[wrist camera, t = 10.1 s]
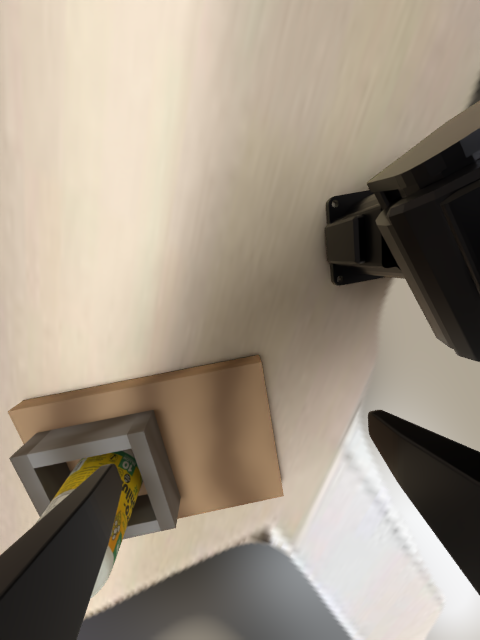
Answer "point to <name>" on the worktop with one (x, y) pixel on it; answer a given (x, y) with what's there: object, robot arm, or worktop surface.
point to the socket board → (159, 440)
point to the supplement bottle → (126, 504)
